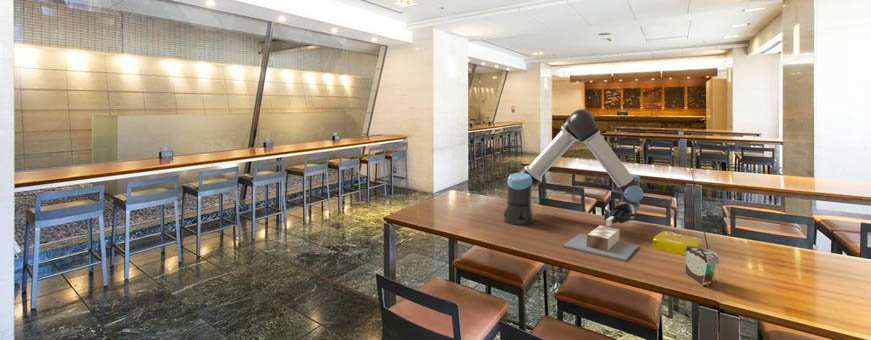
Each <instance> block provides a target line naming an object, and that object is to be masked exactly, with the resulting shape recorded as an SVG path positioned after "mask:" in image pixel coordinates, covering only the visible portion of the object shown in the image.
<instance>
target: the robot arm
mask: <svg viewBox="0 0 871 340" xmlns="http://www.w3.org/2000/svg"><path fill="white" fill-rule="evenodd" d="M560 129H561V130H560V131H559V132H558V133H557V134H556V136H555V137H554V138H553V139H552V140H551V141H550V142H549V143H548V144H547V145H546V147H545V148H544V149H543V150H542V151H541V152H540V153H539V154H538V156H536V158H535V159H534V160H533V161H532V162H531V163H530V164H529V165H525V166H523V168H521V170H519V172H515V173H511V174H509V175H508V177H507V194H506V195H507V200H506V202H507V203H506V204H507V205H506V208H505V209H504V213H503V219H502V220H503V221H504V222H505V223H507V224H512V225H518V226H519V225H520V226H523V225H524V226H525V225H531V224H533V223H534V222H535V216H534V212H533V210H532V192H533V191H534V190H535V189H536V188H537V187H538V186H539V185H540V184H541V183H542V181H543V176H544V175H545V173H547V172H548V171H549V169H550V168H552V166H553V165H554V164H555V163H556V162H557V161H558V160H559V159H560V158H561V157H562V156H563V155H564V153H566V151H568V150H569V148H570V147H571V146H573V144H574V143H575V142H581V143H582V144H585V145H586V146H587V147H588V149H589V151H590V152H591V153H592V154H593V155H594V157H595V159H597V162H599V164H600V166H602V168H603V169H604V170H605V172H606V173H607V174H608V175H609V177H610V178H611V180H612V181H613V182H614V184H615V185H616V186H617V187H618V190H620V192H621V197H620V198H621V199H620V202H619V203H618V204H617V205H615V207H613V208H612V209H610V210H608V209H604V212H603V215H604V218H603V219H604V221H605V226H606V227H611V226H612V225H613V224H618V223H619V224H623V223H624V224H625V223H627V222H629V221H635V215H636V213H638V211H639V210H640V206H641V204H640V202H641V200H642V199H643V198H644V190H643V189H642V187H641V176H640V175H636V174H631V173H630V172H629V170H628V169H627V168H626V166H625V165H624V164H623V163H622V161H621V160H620V159H619V157H618V156H617V155H616V153H615V152H614V151H613V149H612V148H611V146H610V145H609V144H608V142H607V141H606V140H605V138H604V136H602V134H601V130H600V128H599V126H598V125H597V124H596V122H595V117H594V115H593V114H592V112H591V111H589V110H587V109H583V108H579V109H577V110H574V111H573V112H572V113H570V115H569V117H567V119H566V120H565V121H564V122H563V123H562V124H561V126H560Z"/></svg>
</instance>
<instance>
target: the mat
mask: <svg viewBox="0 0 871 340" xmlns="http://www.w3.org/2000/svg"><path fill="white" fill-rule="evenodd" d="M586 245H587V234H585V233H581V232H580V233H578V234H577V235H576V236H574V237H572V238H571V239H570V240H568V241H566V243H563V245H562V247H563V248H567V249H571V250H574V251H578V252H579V251H580V252H584V253H587V254H593V255H595V256H596V255H597V256H601V257H605V258H608V257H609V258H608V259H612V260H613V259H614V260H618V261H621V262H625V263H626V262H627V261H628V260H629V259H630V257H631V256H632V255H634V253H635V252H636V251H637V250H638V248H639V244H635V243H634V244H632V243H628V242H624V241H618V242H616V243H615V244H614V245H613V246H612V247H611V248H610V249H609V250H608V251H604V250H600V249H595V248H591V247H587V246H586ZM636 249H637V250H636ZM635 250H636V251H635ZM634 251H635V252H634Z"/></svg>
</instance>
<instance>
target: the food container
mask: <svg viewBox="0 0 871 340" xmlns="http://www.w3.org/2000/svg"><path fill="white" fill-rule="evenodd" d="M685 251H686V255H685V256H684V257H685V260H684V275H685V276H687V277H688V278H689V277H690V279H691V280H693V282H695V281H696V282H697V283H696V282H695V283H696V284H698V283H699V284H701V285H702V286H707V285H710V284H711V285H712V283H713V277H714V273H715V269H716V265H717V264H719V263H720V261H719V256H718V254H717V253H716V252H715V251H713V250H711V249H708V248H705V247H702V248H701V247H696V246H686V247H685ZM699 284H698V285H699ZM701 285H700V286H701ZM711 285H710V286H711ZM702 286H701V287H702ZM707 287H708V286H707Z"/></svg>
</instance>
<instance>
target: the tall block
mask: <svg viewBox="0 0 871 340" xmlns="http://www.w3.org/2000/svg"><path fill="white" fill-rule="evenodd" d="M620 231H621V230H620V228H616V227H611V226H606V225H600V224H599V225H598V227H596V228H594V229H593V230H592V231H590V232H589V233H587V234H586V235H587V245H586V246H587V247H591V248H595V249H600V250H604V251H608V250H609V249H610V248H611V247H612V246H613V245H614V244H615V243H616V242H618V241H619V240H620Z"/></svg>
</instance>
